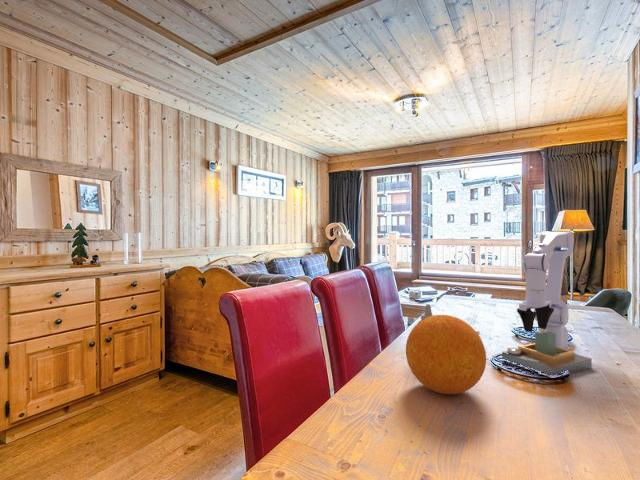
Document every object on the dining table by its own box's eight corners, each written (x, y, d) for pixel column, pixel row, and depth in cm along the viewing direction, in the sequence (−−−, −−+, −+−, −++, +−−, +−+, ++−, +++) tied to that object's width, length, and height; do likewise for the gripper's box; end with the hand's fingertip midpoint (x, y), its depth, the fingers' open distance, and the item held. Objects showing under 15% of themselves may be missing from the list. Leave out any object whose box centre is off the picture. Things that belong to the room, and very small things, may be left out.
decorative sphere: (502, 396, 87) (502, 318, 87) (452, 417, 77) (453, 329, 76) (437, 370, 104) (438, 305, 104) (390, 385, 93) (390, 312, 93)
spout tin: (542, 351, 112) (542, 327, 112) (555, 355, 108) (555, 330, 108) (535, 353, 110) (535, 328, 110) (548, 357, 107) (548, 332, 107)
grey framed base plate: (539, 352, 121) (539, 338, 121) (591, 368, 106) (591, 352, 106) (502, 360, 112) (502, 345, 112) (552, 379, 98) (553, 362, 98)
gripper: (536, 286, 120) (536, 324, 120) (510, 289, 114) (510, 329, 114) (558, 289, 114) (557, 329, 114) (531, 292, 107) (531, 334, 108)
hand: (535, 329), depth 114 cm, fingers open, 7 cm apart
